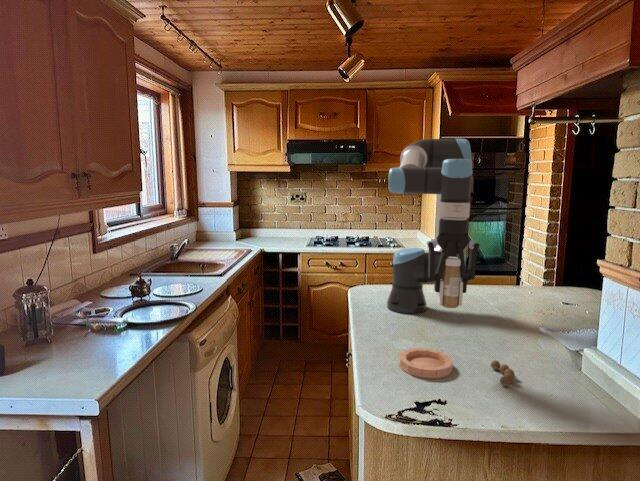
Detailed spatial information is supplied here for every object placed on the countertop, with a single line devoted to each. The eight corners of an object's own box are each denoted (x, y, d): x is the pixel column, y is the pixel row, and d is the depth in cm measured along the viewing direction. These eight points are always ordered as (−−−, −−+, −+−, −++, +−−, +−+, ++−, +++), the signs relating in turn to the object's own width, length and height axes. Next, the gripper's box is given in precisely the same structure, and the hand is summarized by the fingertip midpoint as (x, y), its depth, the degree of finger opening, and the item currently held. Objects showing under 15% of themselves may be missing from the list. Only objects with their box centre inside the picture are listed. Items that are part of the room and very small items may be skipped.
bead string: (487, 366, 116) (488, 358, 115) (506, 367, 115) (506, 359, 115) (501, 387, 104) (502, 378, 104) (521, 389, 104) (522, 379, 103)
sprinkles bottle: (438, 304, 117) (440, 256, 115) (453, 303, 118) (456, 256, 116) (445, 309, 113) (447, 259, 111) (461, 308, 114) (464, 259, 112)
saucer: (397, 354, 123) (397, 347, 123) (446, 357, 122) (446, 349, 121) (401, 377, 109) (401, 368, 109) (457, 380, 108) (457, 371, 108)
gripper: (423, 219, 109) (419, 307, 112) (492, 220, 108) (486, 309, 111) (418, 216, 116) (414, 299, 120) (483, 217, 115) (478, 301, 119)
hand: (449, 303), depth 115 cm, fingers closed on sprinkles bottle, 4 cm apart
